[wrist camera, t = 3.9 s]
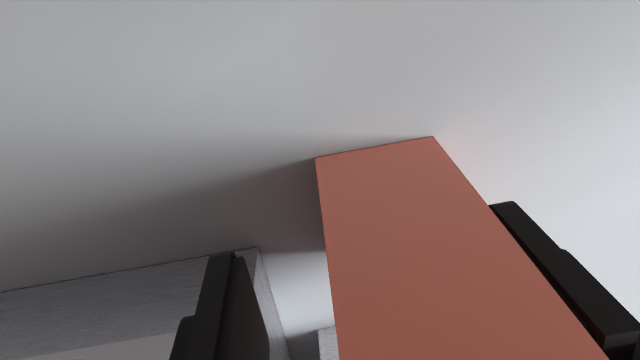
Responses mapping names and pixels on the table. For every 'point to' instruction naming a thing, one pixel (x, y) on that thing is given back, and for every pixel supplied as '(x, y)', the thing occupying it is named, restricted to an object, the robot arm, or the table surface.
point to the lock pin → (432, 265)
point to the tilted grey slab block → (328, 344)
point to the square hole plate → (119, 313)
